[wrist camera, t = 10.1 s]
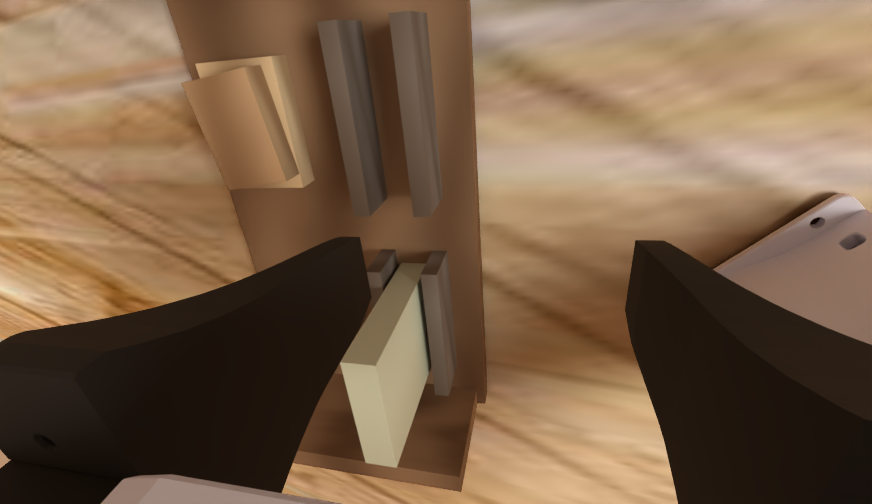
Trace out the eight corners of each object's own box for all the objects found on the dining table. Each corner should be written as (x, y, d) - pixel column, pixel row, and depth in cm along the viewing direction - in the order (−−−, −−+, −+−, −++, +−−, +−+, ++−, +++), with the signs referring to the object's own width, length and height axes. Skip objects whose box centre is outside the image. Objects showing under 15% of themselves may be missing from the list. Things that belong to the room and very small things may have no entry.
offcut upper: (260, 65, 18) (243, 67, 17) (299, 173, 20) (286, 181, 19) (200, 80, 19) (181, 83, 18) (243, 182, 21) (228, 190, 20)
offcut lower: (285, 54, 19) (270, 56, 18) (314, 180, 22) (303, 187, 21) (213, 61, 20) (195, 63, 19) (249, 181, 23) (235, 188, 22)
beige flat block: (427, 263, 23) (375, 365, 16) (437, 349, 25) (396, 467, 18) (401, 262, 23) (339, 362, 16) (413, 346, 26) (365, 462, 19)
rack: (465, -113, 16) (414, -203, 10) (487, 391, 27) (470, 493, 21) (164, -57, 19) (-13, -96, 13) (299, 370, 31) (239, 453, 25)
